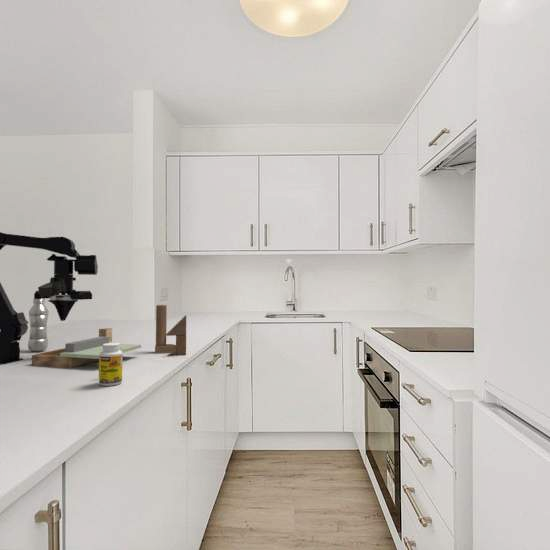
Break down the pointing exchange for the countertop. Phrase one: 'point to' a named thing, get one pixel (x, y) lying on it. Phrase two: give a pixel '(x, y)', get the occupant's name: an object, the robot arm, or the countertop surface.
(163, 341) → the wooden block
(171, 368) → the countertop surface
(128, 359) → the countertop surface
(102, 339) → the lid
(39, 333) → the plastic bottle
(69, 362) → the brown wooden slab
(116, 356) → the supplement bottle
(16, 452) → the countertop surface
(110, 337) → the pin
